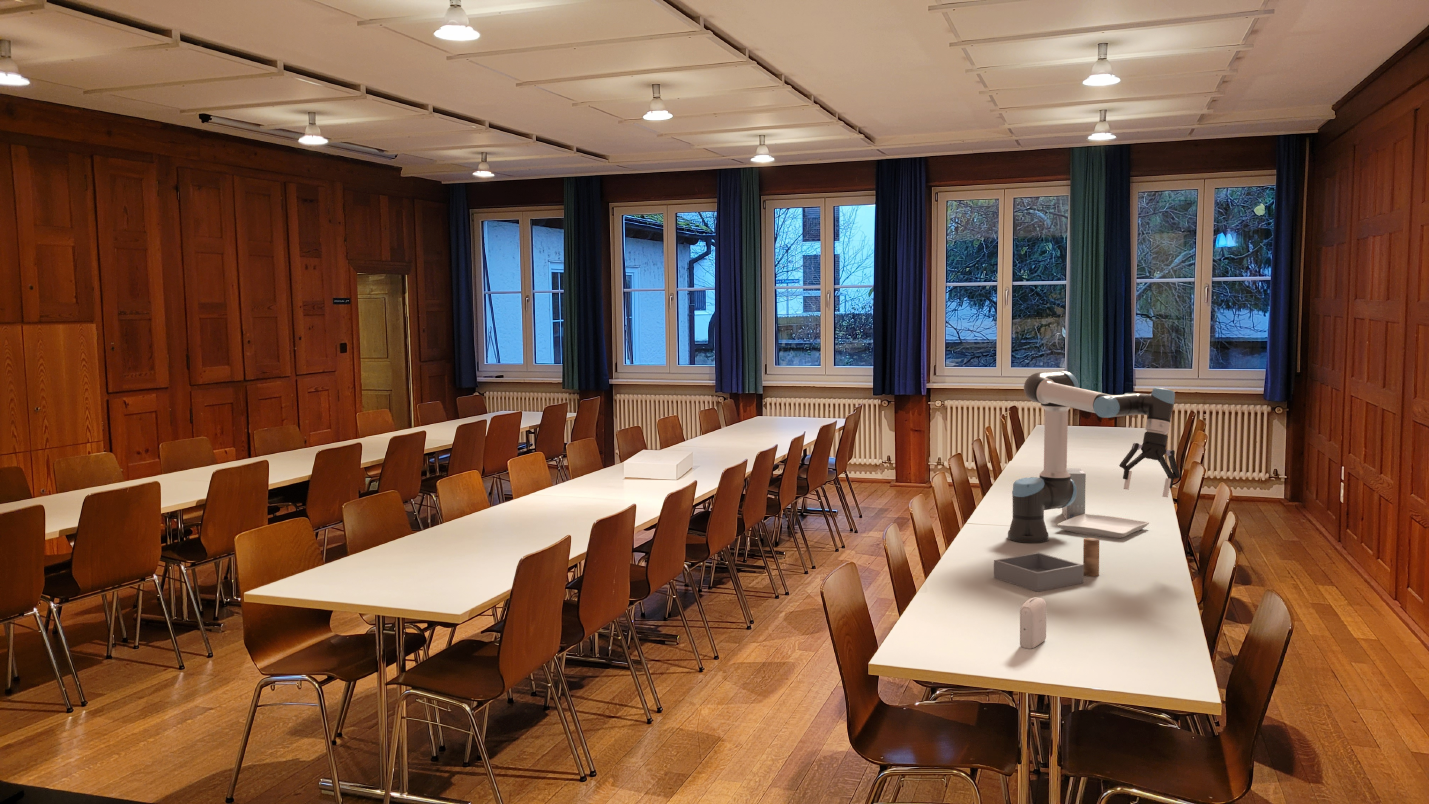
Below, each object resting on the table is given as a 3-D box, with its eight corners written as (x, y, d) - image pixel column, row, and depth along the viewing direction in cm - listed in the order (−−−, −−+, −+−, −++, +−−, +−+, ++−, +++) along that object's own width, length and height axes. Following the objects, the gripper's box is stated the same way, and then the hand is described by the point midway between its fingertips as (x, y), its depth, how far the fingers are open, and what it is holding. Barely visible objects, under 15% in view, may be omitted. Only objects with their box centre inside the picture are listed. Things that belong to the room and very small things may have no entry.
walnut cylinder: (1079, 573, 346) (1080, 539, 345) (1090, 571, 348) (1091, 537, 347) (1091, 577, 342) (1091, 541, 340) (1102, 575, 344) (1102, 540, 343)
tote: (993, 577, 344) (993, 560, 343) (1038, 569, 353) (1038, 552, 352) (1037, 591, 326) (1037, 573, 325) (1083, 582, 335) (1083, 564, 334)
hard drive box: (1085, 520, 428) (1085, 473, 426) (1066, 520, 430) (1066, 473, 428) (1080, 513, 443) (1080, 467, 441) (1061, 513, 445) (1061, 467, 443)
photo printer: (1033, 650, 272) (1033, 604, 271) (1017, 646, 275) (1017, 602, 274) (1048, 639, 280) (1048, 595, 279) (1033, 637, 283) (1033, 593, 282)
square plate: (1124, 542, 390) (1124, 532, 390) (1055, 533, 409) (1055, 523, 409) (1150, 529, 410) (1150, 520, 410) (1083, 521, 429) (1083, 512, 428)
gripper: (1124, 425, 351) (1113, 486, 350) (1197, 439, 350) (1186, 500, 350) (1116, 426, 359) (1105, 485, 358) (1187, 440, 358) (1176, 499, 357)
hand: (1145, 493), depth 354 cm, fingers open, 13 cm apart
